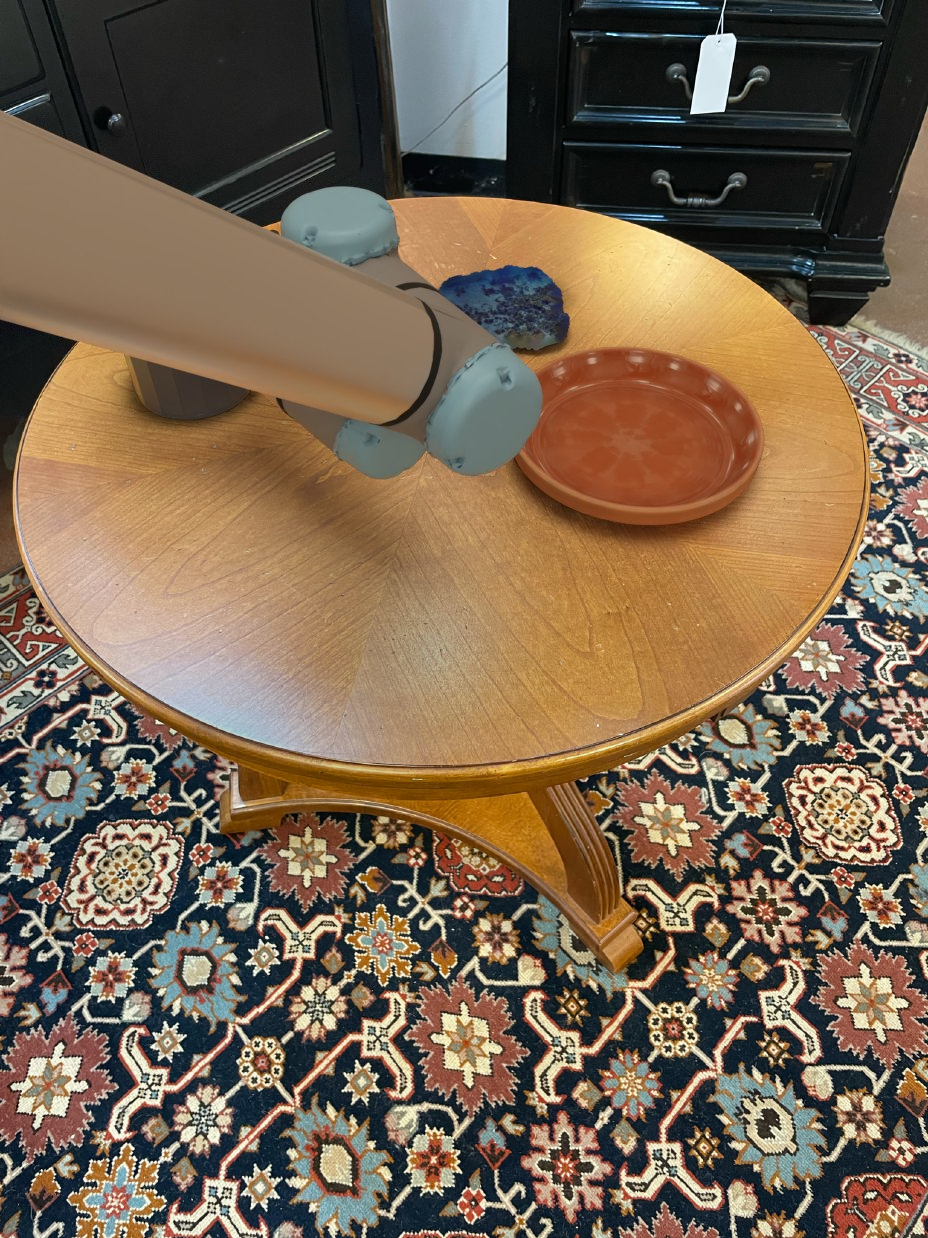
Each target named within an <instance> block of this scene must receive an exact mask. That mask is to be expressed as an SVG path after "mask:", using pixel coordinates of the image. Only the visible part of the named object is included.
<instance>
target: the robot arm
mask: <svg viewBox="0 0 928 1238" xmlns="http://www.w3.org/2000/svg"><path fill="white" fill-rule="evenodd" d="M279 228H280V232H279V231H278V230H276V229H267V228H265V227H262V226H260V225H258V224H256V223H254V222H252V221H250V220H247V219H245V218H243V217H241V216H238V215H235V214H233V213H232V212H229V211H227V210H225V209H222V208H220V207H218V206H216V205H213V204H211V203H209V202H206V201H205V200H202V199H200V198H197V197H195V196H193V195H191V194H189V193H188V192H187V193H186V192H184V191H182V190H180V189H177V188H176V187H173V186H171V185H168V184H166V183H165V182H162V181H159V180H158V179H155V178H153V177H150V176H149V175H146V174H145V173H142V172H139V171H138V170H135V169H133V168H131V167H129V166H126V165H124V164H122V163H119V162H117V161H115V160H113V159H111V158H108V157H107V156H104V155H102V154H99V153H97V152H95V151H92V150H91V149H88V148H86V147H83V146H82V145H79V144H77V143H75V142H73V141H70V140H68V139H66V138H63V137H61V136H59V135H57V134H55V133H52V132H50V131H49V130H45V129H44V128H42V127H39V126H38V125H37V126H36V125H34V124H32V123H30V122H28V121H26V120H23V119H22V118H19V117H17V116H14V115H12V114H10V113H7V112H6V111H3V110H1V109H0V320H1V321H3V322H9V323H12V324H16V325H19V326H22V327H26V328H29V329H32V330H36V331H40V332H44V333H47V334H51V335H54V336H58V337H62V338H64V339H69V340H71V341H75V342H79V343H83V344H86V345H90V346H93V347H96V348H100V349H104V350H108V351H111V352H113V353H114V352H115V353H117V354H121V355H124V354H125V355H128V356H132V357H135V358H139V359H143V360H146V361H150V362H153V363H157V364H160V365H164V366H167V367H171V368H174V369H178V370H182V371H185V372H189V373H192V374H196V375H199V376H203V377H206V378H210V379H214V380H217V381H221V382H224V383H228V384H231V385H235V386H238V387H242V388H245V389H249V390H251V391H253V392H257V393H260V394H261V395H262V396H263V397H264V398H266V399H267V400H268V401H270V402H271V403H272V404H273V405H275V406H276V407H277V408H278V409H279V410H280V411H282V412H283V413H284V414H286V415H287V416H288V417H289V418H291V419H293V420H294V421H296V422H297V424H299V425H300V426H301V427H303V428H304V429H305V430H306V431H307V432H309V433H310V434H311V435H312V436H313V437H314V438H316V439H317V440H318V441H319V442H320V443H321V444H323V445H324V446H325V447H326V448H327V449H329V450H330V451H331V452H332V453H333V454H334V456H335V457H336V458H337V459H338V460H339V461H341V462H345V463H346V464H348V465H349V466H351V467H352V468H354V469H355V470H357V471H359V472H360V473H361V474H363V475H364V476H366V477H368V478H370V479H374V480H389V479H393V478H396V477H399V475H401V474H402V473H403V472H406V471H408V470H410V469H411V468H413V467H414V466H415V465H416V464H417V463H418V462H419V461H420V460H421V459H422V457H423V456H424V454H425V453H426V452H427V455H430V457H431V458H432V459H436V460H437V461H439V462H440V463H441V464H443V465H444V466H445V467H446V468H448V469H449V470H450V471H452V472H454V473H456V474H458V475H460V476H466V477H476V476H482V475H485V474H490V473H492V472H494V471H496V470H498V469H500V468H502V467H504V466H505V465H507V464H509V462H511V461H512V460H513V459H515V458H514V457H515V456H516V455H517V454H518V453H519V452H520V451H521V450H522V448H523V447H524V446H525V444H526V441H527V440H528V438H529V437H530V436H531V433H532V432H533V431H534V430H535V429H536V427H537V424H538V422H539V419H540V415H541V411H542V405H543V395H542V389H541V385H540V382H539V380H538V378H537V376H536V375H535V373H534V372H535V371H533V370H532V369H531V368H530V367H529V366H528V365H527V364H526V363H525V362H524V361H523V360H522V359H521V358H520V357H519V356H518V355H517V354H516V353H515V352H514V349H513V348H512V347H510V346H509V345H508V344H503V343H501V342H500V341H499V340H498V339H496V338H495V337H494V336H493V335H491V334H490V333H489V332H488V331H486V330H485V329H484V328H483V327H481V326H480V325H479V324H478V323H476V322H475V321H474V320H473V319H471V318H470V317H469V316H467V315H466V314H465V313H464V312H462V311H461V310H460V309H459V308H457V307H456V306H455V305H454V304H452V303H451V302H450V301H449V300H448V299H447V298H446V297H445V296H443V295H442V294H441V293H440V292H439V291H438V290H439V289H438V288H436V287H435V286H434V285H433V284H432V283H431V282H429V281H428V280H427V279H425V278H424V277H423V276H422V275H421V274H420V273H418V271H416V270H414V269H413V268H412V267H411V266H410V265H409V264H407V263H406V262H405V261H403V260H402V259H401V256H400V254H399V245H400V242H401V236H400V234H398V226H397V221H396V215H395V212H394V210H393V207H392V205H391V204H390V203H389V202H388V200H387V199H385V198H384V197H383V196H382V195H380V194H378V193H376V192H374V191H371V190H369V189H365V188H360V187H354V186H330V187H324V188H320V189H317V190H314V191H310V192H307V193H305V194H302V195H300V196H298V197H297V198H296V199H294V200H293V201H292V202H291V203H290V204H289V205H288V206H287V207H286V208H285V210H284V211H283V213H282V215H281V218H280V224H279Z"/></svg>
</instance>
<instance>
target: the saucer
mask: <svg viewBox="0 0 928 1238" xmlns="http://www.w3.org/2000/svg"><path fill="white" fill-rule="evenodd" d="M533 372H534V373H535V375H536V376H537V378H538V380H539V382H540V385H541V389H542V395H543V405H542V411H541V415H540V419H539V422H538V424H537V427H536V429H535V430H534V431H533V432H532V433H531V436H530V437H529V438H528V440H527V441H526V444H525V446H524V447H523V448H522V450H521V451H520V452H519V453H518V454H517V455H516V456H515V457H514V458H513V459H514V460H515V462H516V463H517V465H518V466H519V469H520V470H521V472H522V473H523V474H524V475H525V476H526V477H527V478H528V479H529V480H530V482H532V484H534V486H536V487H537V488H538V489H539V490H541V491H542V492H543V493H544V494H545V495H547V496H548V497H550V498H552V499H553V500H555V501H556V502H558V503H560V504H562V505H564V506H566V507H568V508H570V509H572V510H574V511H577V512H579V513H582V514H584V515H587V516H590V517H594V518H597V519H601V520H604V521H610V522H613V523H620V524H627V525H635V526H661V525H662V526H663V525H664V526H665V525H673V524H674V525H675V524H680V523H686V522H689V521H695V520H698V519H700V518H704V517H706V516H709V515H711V514H714V513H716V512H718V511H720V510H721V509H724V508H725V507H727V506H728V505H730V504H731V503H733V502H734V501H735V500H736V499H737V498H739V496H741V494H742V493H744V491H745V490H746V489H747V488H748V487H749V485H750V484H751V482H752V481H753V479H754V477H755V475H756V472H757V471H758V468H759V465H760V463H761V460H762V457H763V453H764V451H765V439H766V438H765V430H764V426H763V422H762V419H761V416H760V414H759V412H758V409H756V407H755V405H754V404H753V402H752V401H751V399H750V398H749V397H748V395H746V393H744V391H743V390H742V389H741V388H740V387H739V386H737V385H736V384H735V383H734V382H733V381H731V380H730V379H729V378H727V377H726V376H724V375H723V374H722V373H720V372H718V371H717V370H715V369H713V368H711V367H709V366H708V365H705V364H703V363H701V362H699V361H696V360H695V359H692V358H689V357H686V356H683V355H679V354H677V353H672V352H669V351H664V350H659V349H654V348H647V347H637V346H603V347H595V348H589V349H583V350H579V351H576V352H571V353H568V354H566V355H562V356H560V357H558V358H555V359H553V360H551V361H549V362H547V363H545V364H544V365H542V366H541V367H539V368H538V369H536V370H535V371H533Z"/></svg>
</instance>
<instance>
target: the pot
mask: <svg viewBox="0 0 928 1238" xmlns="http://www.w3.org/2000/svg"><path fill="white" fill-rule="evenodd" d="M123 355H124V359H125V362H126V366H127V368H128V371H129V374H130V378H131V380H132V383H133V387H134V390H135V394H136V395H137V396H138V399H139V400H140V403H141V404H142V405H143V407H145V409H147V410H148V411H149V412H151V413H153V414H155V415H157V416H158V417H162V418H165V419H170V420H176V421H177V420H179V421H193V420H194V421H195V420H202V419H207V418H211V417H215V416H217V415H221V414H223V413H225V412H227V411H229V410H231V409H233V408H235V407H236V406H238V405H239V404H240V403H241V402H243V401H244V400H245V399H246V398H247V397H248V396H249V394H250V393H251V391H252V390H249V389H245V388H242V387H238V386H235V385H231V384H228V383H224V382H221V381H217V380H214V379H210V378H206V377H203V376H199V375H196V374H192V373H189V372H185V371H182V370H178V369H174V368H171V367H167V366H164V365H160V364H157V363H153V362H150V361H146V360H143V359H139V358H135V357H132V356H128V355H125V354H123Z"/></svg>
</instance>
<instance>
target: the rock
mask: <svg viewBox="0 0 928 1238" xmlns="http://www.w3.org/2000/svg"><path fill="white" fill-rule="evenodd" d="M438 291H439V292H440V293H441V294H442V295H443V296H445V297H446V298H447V299H448V300H449V301H450V302H451V303H452V304H454V305H455V306H456V307H457V308H459V309H460V310H461V311H462V312H464V313H465V314H466V315H467V316H469V317H470V318H471V319H473V320H474V321H475V322H476V323H478V324H479V325H480V326H481V327H483V328H484V329H485V330H486V331H488V332H489V333H490V334H491V335H493V336H494V337H495V338H496V339H498V340H499V341H500V342H501V343H503V344H508V345H509V346H510V347H512V348H513V350H514V349H518V348H519V349H526V350H528V351H530V350H531V349H533V350H534V351H539V350H540V349H542V348H544V347H547V346H550V345H551V346H552V345H555V344H560V343H563V342H564V340H565V338H568V332H569V329H570V324H571V322H570V321H571V317H570V315H569V313H568V312H565V311H564V303H565V302H564V299H563V297H564V295H563V293H562V289H561V288H560V287H559V286H558V285H557V284H556V283H555V282H554V279H553V278H552V277H550V276H549V275H548V274H547V273H545V272H544V271H543V270H542V269H541V268H539V267H538V266H532V265H531V266H526V267H524V266H522V267H521V266H519V265H512V264H506V265H504V266H503V267H498V268H496V269H492V270H491V269H482V270H481V271H473V272H470V273H469V274H464V275H462V274H457V275H453V276H449V277H448V278H447V279H446V280H443V282H442V283H441V284H440V286H439V289H438Z"/></svg>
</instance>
